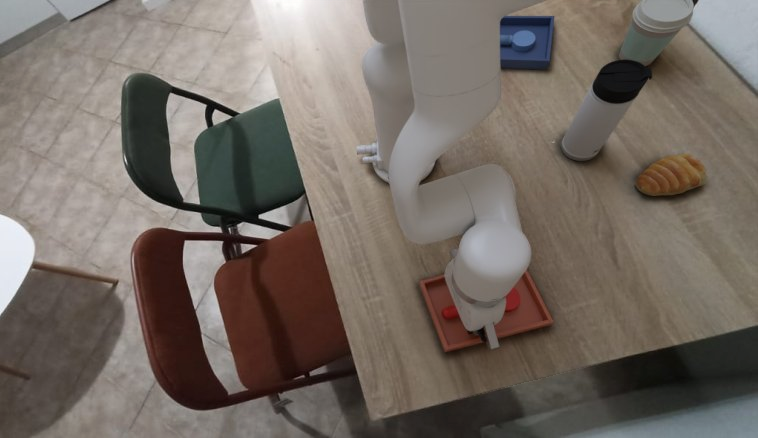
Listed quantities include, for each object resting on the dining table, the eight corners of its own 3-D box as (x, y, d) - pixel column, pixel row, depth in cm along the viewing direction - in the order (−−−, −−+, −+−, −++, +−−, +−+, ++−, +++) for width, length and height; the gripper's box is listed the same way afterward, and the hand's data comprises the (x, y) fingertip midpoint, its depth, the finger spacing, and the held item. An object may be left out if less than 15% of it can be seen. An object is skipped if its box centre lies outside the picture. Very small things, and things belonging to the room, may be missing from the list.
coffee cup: (669, 68, 84) (706, 18, 73) (617, 76, 86) (646, 28, 75) (654, 35, 87) (687, -17, 77) (605, 44, 89) (630, -7, 79)
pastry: (650, 207, 75) (661, 197, 71) (623, 176, 78) (632, 165, 75) (705, 185, 74) (719, 174, 70) (676, 155, 77) (687, 143, 74)
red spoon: (446, 328, 75) (447, 326, 73) (436, 304, 77) (437, 301, 75) (523, 308, 73) (525, 305, 71) (511, 283, 75) (513, 280, 73)
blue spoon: (467, 50, 97) (468, 43, 95) (470, 35, 98) (471, 28, 97) (532, 52, 92) (535, 45, 91) (534, 36, 94) (537, 29, 92)
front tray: (444, 352, 74) (445, 350, 72) (419, 284, 79) (419, 281, 77) (549, 325, 71) (553, 322, 69) (515, 257, 77) (518, 252, 75)
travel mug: (602, 162, 80) (655, 89, 62) (560, 161, 82) (601, 90, 64) (599, 133, 82) (650, 55, 65) (559, 132, 84) (598, 57, 67)
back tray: (457, 66, 96) (458, 57, 94) (466, 24, 100) (467, 15, 98) (546, 69, 90) (549, 60, 88) (551, 25, 94) (554, 15, 92)
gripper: (430, 229, 64) (427, 266, 79) (480, 349, 56) (465, 364, 71) (482, 214, 63) (468, 254, 78) (540, 333, 55) (512, 352, 70)
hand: (467, 307), depth 75 cm, fingers open, 7 cm apart
